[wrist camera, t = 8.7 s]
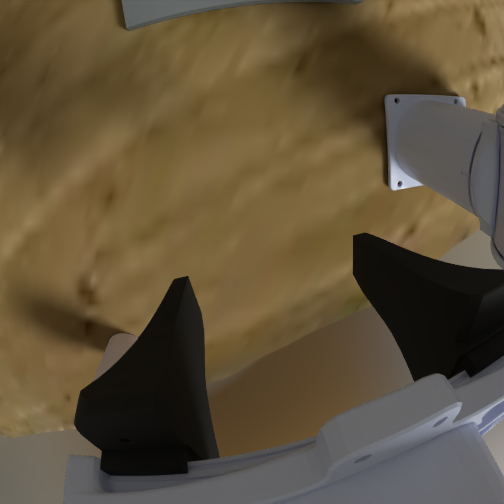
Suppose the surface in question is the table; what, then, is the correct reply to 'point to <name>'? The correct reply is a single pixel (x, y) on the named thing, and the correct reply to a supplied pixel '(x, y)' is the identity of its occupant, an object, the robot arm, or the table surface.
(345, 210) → the table surface
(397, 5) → the table surface
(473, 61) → the table surface
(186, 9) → the holder
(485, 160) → the robot arm
